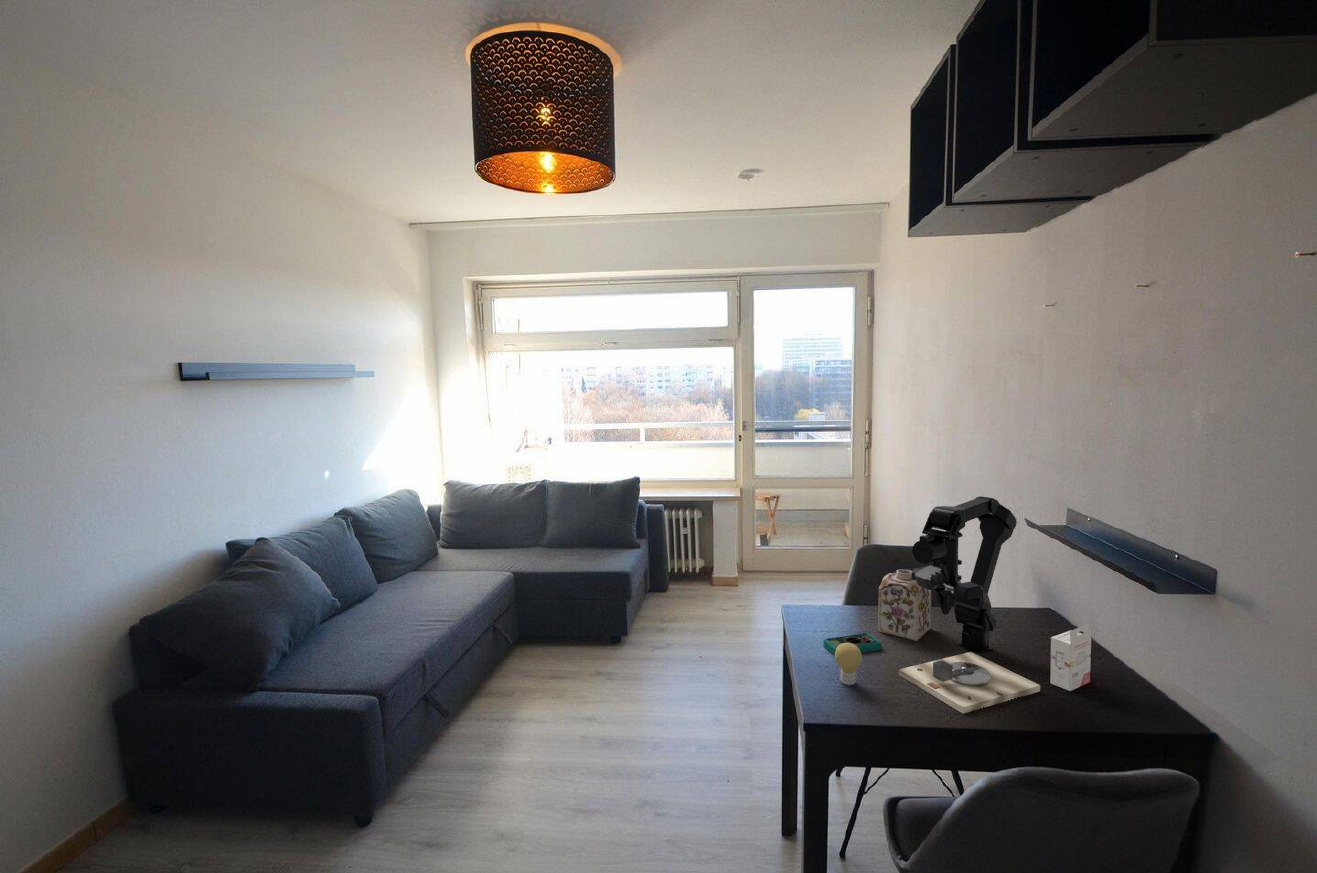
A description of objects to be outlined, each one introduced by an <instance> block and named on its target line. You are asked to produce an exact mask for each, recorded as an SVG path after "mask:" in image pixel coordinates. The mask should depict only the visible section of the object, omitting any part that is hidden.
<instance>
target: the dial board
mask: <svg viewBox="0 0 1317 873" xmlns="http://www.w3.org/2000/svg"><path fill="white" fill-rule="evenodd" d="M941 660H943V661H945V662H947V663H953V662H967V663H972V664H976V665H979V666H981V667H983V668H985V669H987V670H988V671H989V672H990V674H991V678H990V682H989V683H988V684H986V685H982V686H970V685H964V684H960V683H957V682H955V681H953V680H948V681H945V682H942V681H940V680H938V679H936V678H935V677H933V662H937V661H941ZM898 675H899V677H901V678H903V679H905V680H906V681H908V682H910V683H911V684H913V685H915V686H917V687H918V688H920V689H921V690H923V691H925V692H926V693H928V694H930V695H931V696H933V697H934V698H936V699H938V700H940V701H942V702H943V703H944V704H946V705H947V706H949V707H951V708H953V709H955V710H956V711H958V712H960V713H961V714H962V715H963V714H966V713H970V712H974V711H977V710H980V708H981V709H984V708H987V707H990V706H994V705H998V704H1001V703H1005V702H1008V700H1009V701H1011V699H1012V700H1015V699H1014V698H1016V699H1018V698H1017V697H1019V698H1022V697H1026V696H1030V695H1033V694H1035V693H1038V692H1041V684H1039V683H1036V682H1035V681H1032V680H1030V679H1028V678H1025V677H1024V676H1021V675H1020V674H1018V673H1015V672H1013V671H1011V670H1009V669H1007V668H1006V667H1004V666H1001V665H999V664H997V663H996V662H993V661H991V660H989V659H987V658H984V657H982V656H980V655H979V654H977V653H974V652H972V651H969V652H965V653H961V654H957V655H953V656H949V657H948V656H947V657H944V658H939V659H936V660H932V661H931V660H930V661H928V662H924V663H920V664H915V665H912V666H908V667H904V668H900V669H898ZM1021 696H1022V697H1021ZM983 707H984V708H983ZM973 710H974V711H973Z"/></svg>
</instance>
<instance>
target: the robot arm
mask: <svg viewBox="0 0 1317 873" xmlns="http://www.w3.org/2000/svg"><path fill="white" fill-rule="evenodd" d="M974 519H977V520H978V521H979V529H980V530H979V531H980V533H981V534H980V535H981V536H982V540H981V543H980V546H979V550H978V554H977V557H976V560H975V564H974V567H973V571H972V575H971V577H970V580H969V581H965V582H959V581H962V579H963V578H962V575H960V574H959V566H960V565H962V563H963V561H962V559H959V538H962V537H964V535H963V533H962V532H961V530H963V529H964V528H965V527H966V523H967V522H969V521H972V520H974ZM1016 527H1017V518H1016V516H1015V515H1014V513H1013V512H1012V511H1011V510H1010V509H1009V508H1007V507H1006V506H1004V505H1003V504H1001V503H1000V502H999V501H998V500H997V499H996V498H994V497H988V496H984V495H983V496H982V495H981V496H976V497H975V498H974V499H971V500H969V501H965V502H962V503H960V504H957V505H953V506H952V505H951V506H949V505H942V506H941V505H938V506H935V507H933V508H932V509H931V511H930V512H929V515H928V517H927V520H926V522H925V524H924V527H923V529H922V533H921V534H923V535H919V540H918V541H915V543H914V544H913V546H912V548H911V552H912V555H913V556H912V557H914V559H915V560H916V561H917V562H918V563H920V564H924V565H925V564H928V566H926V565H925V566H921V567H920V566H919V567H915V568H913V570H911V571H912V579H913V580H916V581H917V584H918V586H920V587H921V586H922V587H924V588H926V589H928V590H931V592H934V594H935V596H936V599H937V602H938V604H939V607H940V610H941V613H942V614H943V615H944V616H945V615H949V613H950V611H951V610H952V608H953V606H954V608H953V612H954V617H955V620H956V623H957V624H961V625H962V631H961V641H959V642H957V645H958V646H960V647H962V648H964V649H966V650H969V652H972V653H974V654H979V653H984V652H988V651H992V650H994V646H992V645H990V644H989V642H990V641H989V640H990V636H989V635H990V632H994V630H995V629H996V626H997V621H998V620H997V619H996V618H995V616H994V615H993V613H992V612H991V610H992V603H991V600H990V596H989V591H990V588H991V584H992V580H993V577H994V573H995V570H996V566H997V563H998V559H999V555H1000V552H1001V549H1002V546H1003V544H1004V543H1005V542H1007V541H1008V540H1009V539H1010V538H1011V537H1012V535H1013V533H1014V529H1016Z"/></svg>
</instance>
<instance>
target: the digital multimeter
mask: <svg viewBox="0 0 1317 873" xmlns="http://www.w3.org/2000/svg"><path fill="white" fill-rule="evenodd" d="M842 643H852V644H854V645H856V646H857V647H858V648H859V650H860V651H861V654H862V653H868V652H875V651H882V642H881V641H880V640H879V639H878V638H877V637H876V636H874V635H873V634H870V633H868V632H863V633H855V634H849V635H845V636H836V637H827V638H825V639H823V643H822V644H823V647H824V648H825V649H826V650H827V651H828V652H829V653H831V654H832V655H833V654H834V655H833V656H835V651H836V648H837V647H838V646H839V645H840V644H842Z"/></svg>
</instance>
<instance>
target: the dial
mask: <svg viewBox="0 0 1317 873" xmlns="http://www.w3.org/2000/svg"><path fill="white" fill-rule="evenodd" d="M933 677H935V678H936V679H938V680H940V681H942V682H945V681H948V680H953V681H955V682H957V683H960V684H964V685H970V686H982V685H986V684H988V683H989V682H990V678H991V674H990V672H989V671H988V670H987V669H985V668H983V667H981V666H979V665H976V664H972V663H967V662H953V663H947V662H945V661H943V660H941V661H937V662H933Z"/></svg>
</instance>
